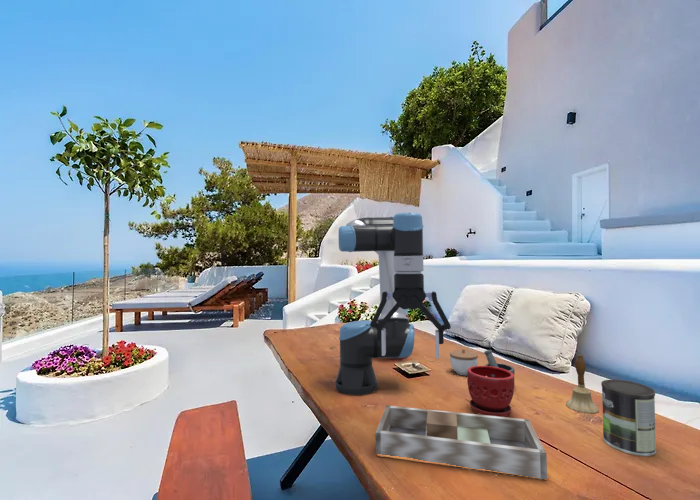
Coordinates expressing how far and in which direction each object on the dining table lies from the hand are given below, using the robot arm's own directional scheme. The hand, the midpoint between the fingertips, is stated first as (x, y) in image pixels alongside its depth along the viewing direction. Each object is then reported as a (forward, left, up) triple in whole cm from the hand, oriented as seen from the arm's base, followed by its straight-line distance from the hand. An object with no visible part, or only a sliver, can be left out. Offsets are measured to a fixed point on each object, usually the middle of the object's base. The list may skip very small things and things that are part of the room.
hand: (410, 355), depth 89 cm
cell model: (-15, +72, -22) cm, 77 cm away
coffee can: (+52, +10, -21) cm, 57 cm away
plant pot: (+22, +22, -21) cm, 38 cm away
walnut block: (+8, -2, -19) cm, 20 cm away
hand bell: (+49, +31, -21) cm, 62 cm away
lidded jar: (+16, +56, -21) cm, 62 cm away
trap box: (+11, -2, -21) cm, 24 cm away
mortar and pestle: (+27, +44, -21) cm, 56 cm away
